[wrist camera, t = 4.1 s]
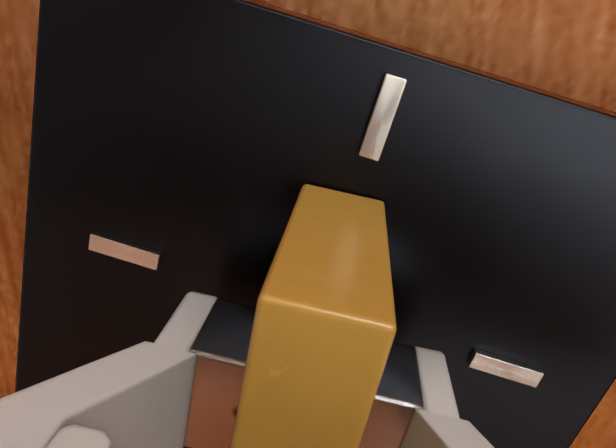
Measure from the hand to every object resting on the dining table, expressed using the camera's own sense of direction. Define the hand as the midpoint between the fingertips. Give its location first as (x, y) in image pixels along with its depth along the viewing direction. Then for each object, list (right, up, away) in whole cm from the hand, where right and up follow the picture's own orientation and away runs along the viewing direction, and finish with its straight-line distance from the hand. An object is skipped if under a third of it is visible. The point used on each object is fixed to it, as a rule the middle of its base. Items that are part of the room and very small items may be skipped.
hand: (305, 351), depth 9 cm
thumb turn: (0, +1, +1) cm, 1 cm away
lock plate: (+1, +2, +4) cm, 4 cm away
